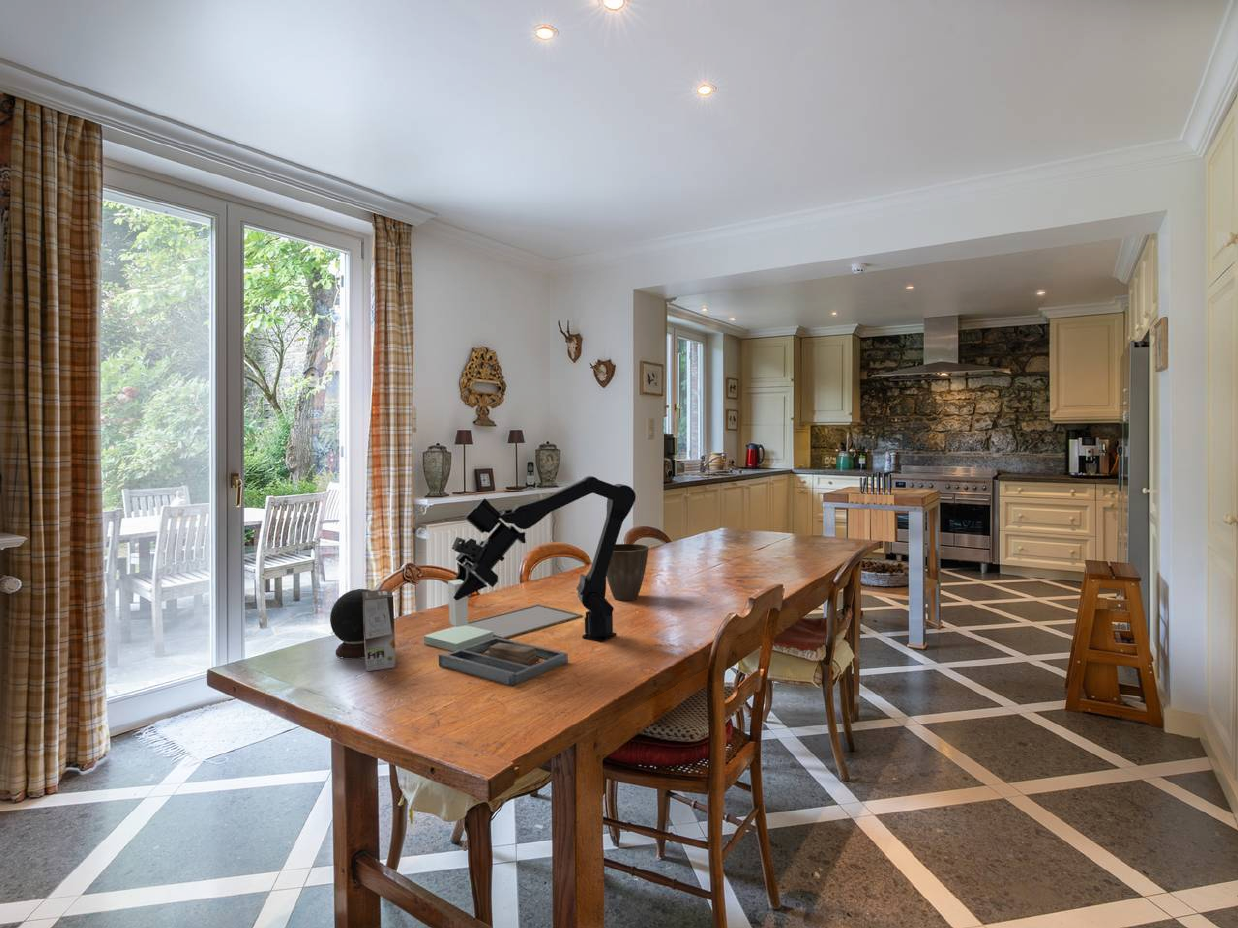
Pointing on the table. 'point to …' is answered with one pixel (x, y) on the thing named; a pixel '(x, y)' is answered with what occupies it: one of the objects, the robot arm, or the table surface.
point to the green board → (457, 637)
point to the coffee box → (379, 629)
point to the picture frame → (523, 620)
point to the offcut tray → (500, 662)
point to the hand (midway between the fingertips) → (452, 596)
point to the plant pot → (627, 570)
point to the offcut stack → (513, 653)
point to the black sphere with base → (349, 624)
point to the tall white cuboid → (457, 605)
